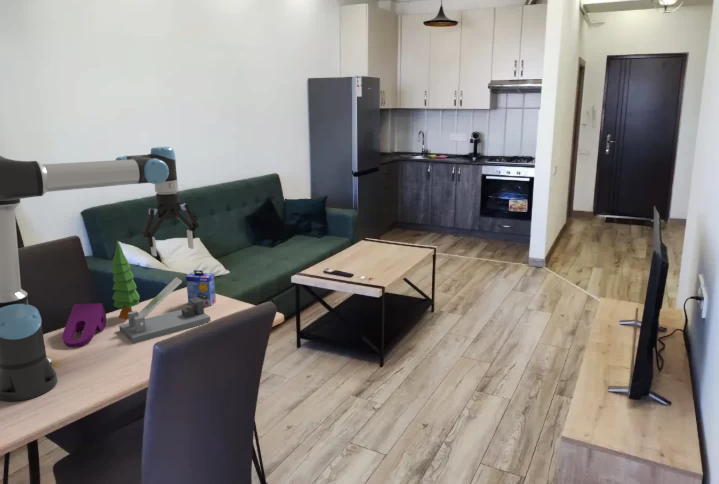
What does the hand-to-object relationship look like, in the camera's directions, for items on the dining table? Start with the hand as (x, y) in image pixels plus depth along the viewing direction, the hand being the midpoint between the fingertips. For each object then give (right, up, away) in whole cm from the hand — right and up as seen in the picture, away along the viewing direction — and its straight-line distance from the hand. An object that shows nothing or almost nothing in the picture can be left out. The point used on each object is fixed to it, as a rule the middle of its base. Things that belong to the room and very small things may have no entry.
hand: (173, 251), depth 192 cm
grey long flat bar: (-5, -18, +1) cm, 19 cm away
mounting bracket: (-30, -30, -4) cm, 42 cm away
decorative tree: (-21, -25, +13) cm, 35 cm away
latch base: (-4, -27, +4) cm, 28 cm away
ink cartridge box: (+3, -22, +27) cm, 34 cm away
